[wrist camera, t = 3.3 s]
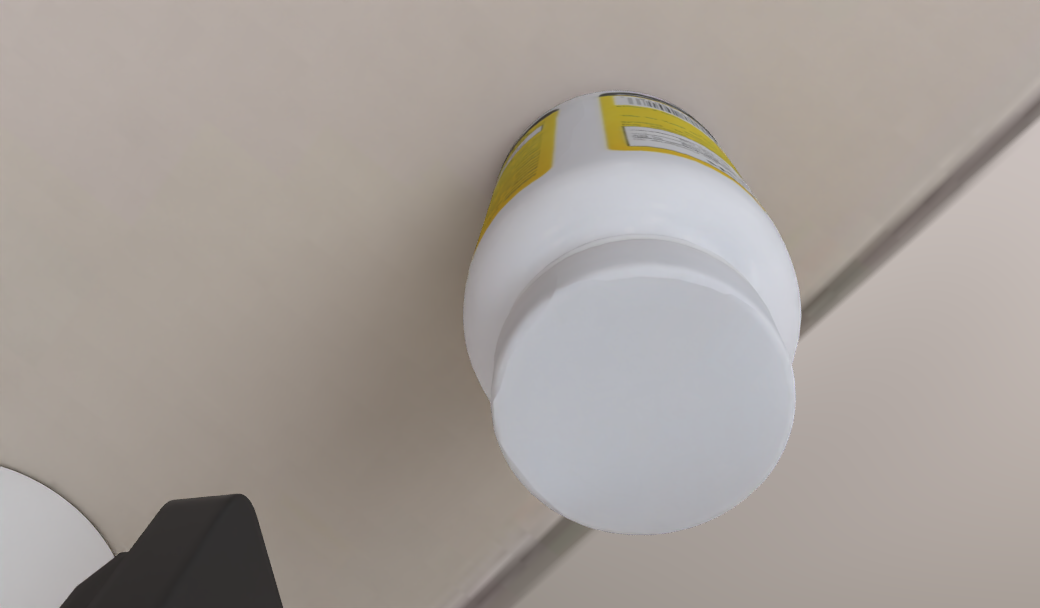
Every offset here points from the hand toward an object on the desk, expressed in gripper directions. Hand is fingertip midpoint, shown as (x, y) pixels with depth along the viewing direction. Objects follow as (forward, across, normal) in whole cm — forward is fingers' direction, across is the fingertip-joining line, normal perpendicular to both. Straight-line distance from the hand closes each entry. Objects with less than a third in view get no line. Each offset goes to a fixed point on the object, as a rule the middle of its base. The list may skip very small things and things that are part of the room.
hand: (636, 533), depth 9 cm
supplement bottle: (+13, 0, 0) cm, 13 cm away
